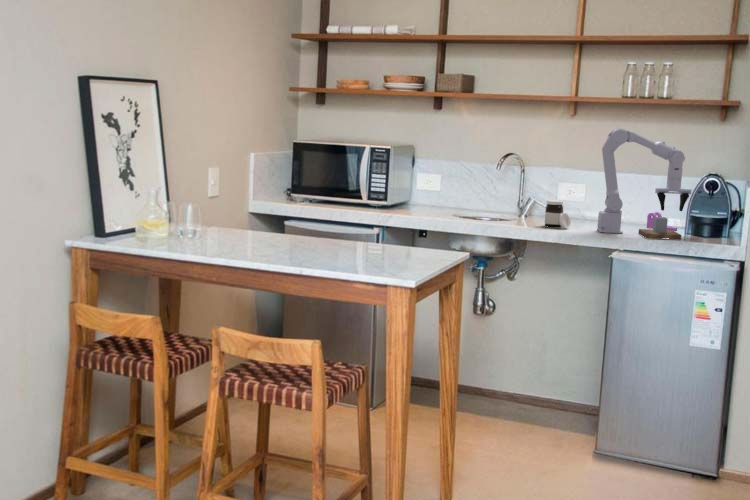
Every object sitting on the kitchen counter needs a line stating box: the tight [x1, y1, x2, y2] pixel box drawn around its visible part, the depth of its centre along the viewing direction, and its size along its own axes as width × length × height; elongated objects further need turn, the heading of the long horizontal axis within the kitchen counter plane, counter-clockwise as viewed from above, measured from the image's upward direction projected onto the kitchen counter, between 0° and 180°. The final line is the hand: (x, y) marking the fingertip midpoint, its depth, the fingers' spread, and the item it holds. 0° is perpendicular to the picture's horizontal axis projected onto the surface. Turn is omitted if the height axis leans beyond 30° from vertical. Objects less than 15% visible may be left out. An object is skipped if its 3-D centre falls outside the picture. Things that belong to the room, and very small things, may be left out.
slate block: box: [652, 216, 669, 233], centre depth 355 cm, size 4×4×6 cm
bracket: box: [646, 211, 678, 232], centre depth 379 cm, size 13×6×7 cm, turn 41°
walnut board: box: [638, 228, 682, 240], centre depth 355 cm, size 14×14×2 cm
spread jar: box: [544, 199, 572, 230], centre depth 374 cm, size 12×11×12 cm
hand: (671, 210), depth 360 cm, fingers open, 7 cm apart
